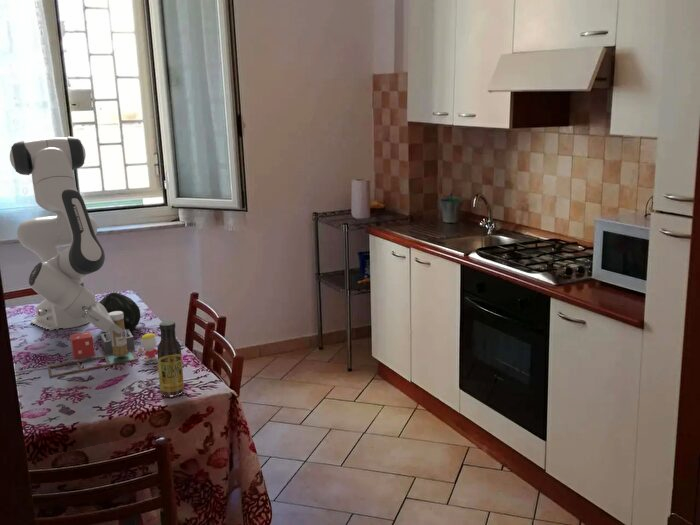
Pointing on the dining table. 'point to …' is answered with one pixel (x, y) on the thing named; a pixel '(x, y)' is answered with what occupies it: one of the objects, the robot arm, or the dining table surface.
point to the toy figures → (148, 347)
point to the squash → (123, 308)
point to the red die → (82, 344)
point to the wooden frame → (109, 359)
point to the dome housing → (108, 345)
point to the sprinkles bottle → (118, 335)
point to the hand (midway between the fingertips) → (119, 328)
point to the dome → (110, 335)
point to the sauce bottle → (169, 361)
